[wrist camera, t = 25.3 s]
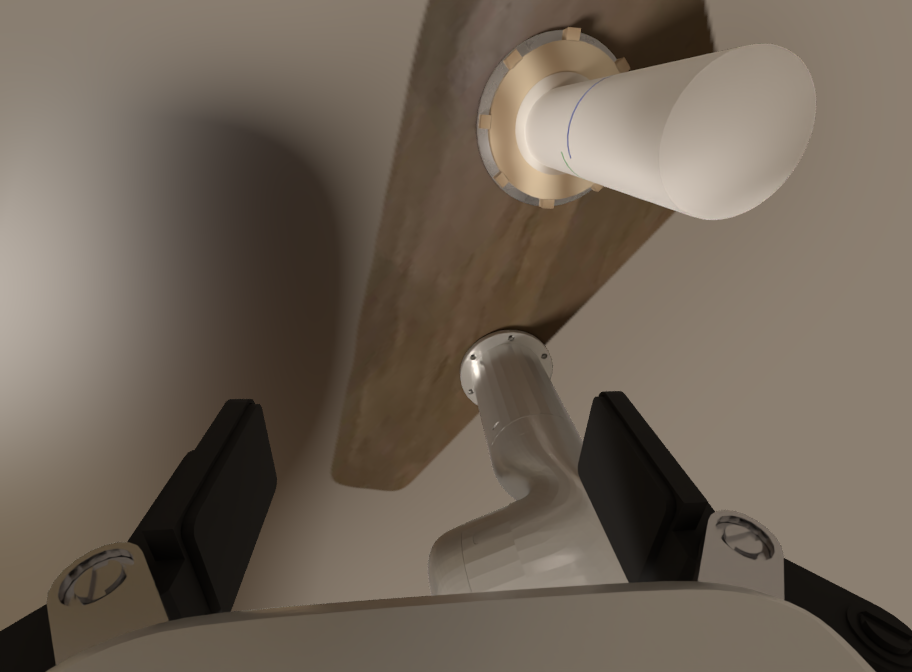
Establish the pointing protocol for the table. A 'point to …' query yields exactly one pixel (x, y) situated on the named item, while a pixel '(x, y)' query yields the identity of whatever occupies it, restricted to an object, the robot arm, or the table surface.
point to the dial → (516, 99)
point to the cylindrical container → (684, 129)
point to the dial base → (487, 99)
